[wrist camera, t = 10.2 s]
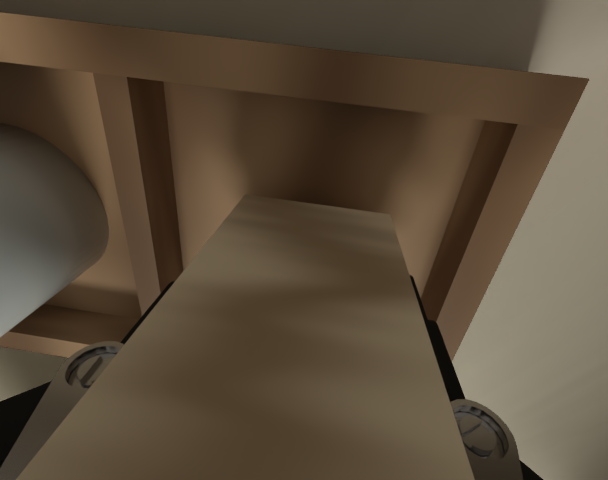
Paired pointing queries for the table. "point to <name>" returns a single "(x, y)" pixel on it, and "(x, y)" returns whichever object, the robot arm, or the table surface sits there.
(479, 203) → the caddy
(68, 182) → the jar
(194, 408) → the block
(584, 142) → the table surface
